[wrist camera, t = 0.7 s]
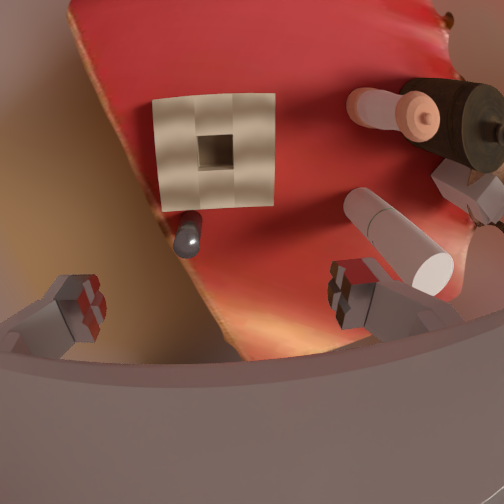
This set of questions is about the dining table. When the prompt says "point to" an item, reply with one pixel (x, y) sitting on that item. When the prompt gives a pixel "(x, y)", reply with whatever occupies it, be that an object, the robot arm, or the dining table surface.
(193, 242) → the pin
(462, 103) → the wooden container
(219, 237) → the dining table surface
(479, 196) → the milk carton
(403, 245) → the cylindrical container
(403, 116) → the pepper shaker
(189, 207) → the socket block
